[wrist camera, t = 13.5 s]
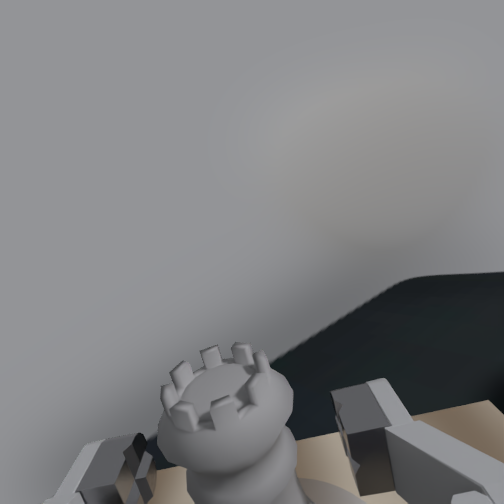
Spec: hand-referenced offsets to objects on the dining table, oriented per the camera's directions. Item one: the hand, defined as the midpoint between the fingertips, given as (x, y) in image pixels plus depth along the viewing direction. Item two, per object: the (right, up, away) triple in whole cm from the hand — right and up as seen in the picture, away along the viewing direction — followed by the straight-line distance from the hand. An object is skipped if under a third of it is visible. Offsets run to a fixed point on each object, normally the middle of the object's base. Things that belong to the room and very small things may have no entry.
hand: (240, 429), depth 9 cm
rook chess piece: (+1, -6, 0) cm, 6 cm away
